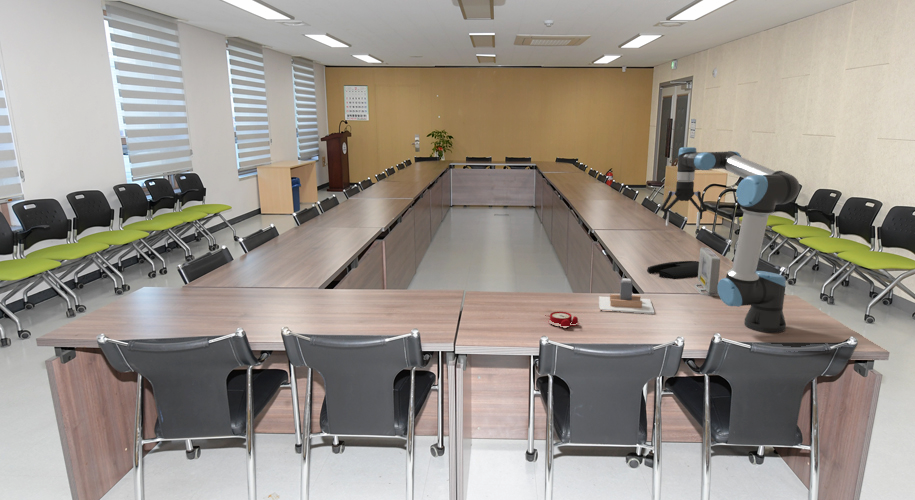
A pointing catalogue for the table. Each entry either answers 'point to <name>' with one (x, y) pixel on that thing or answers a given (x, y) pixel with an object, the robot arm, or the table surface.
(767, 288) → the robot arm
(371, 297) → the table surface
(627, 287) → the connector plug
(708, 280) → the network device
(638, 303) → the end holder
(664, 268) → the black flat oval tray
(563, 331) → the table surface
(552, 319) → the alarm clock
